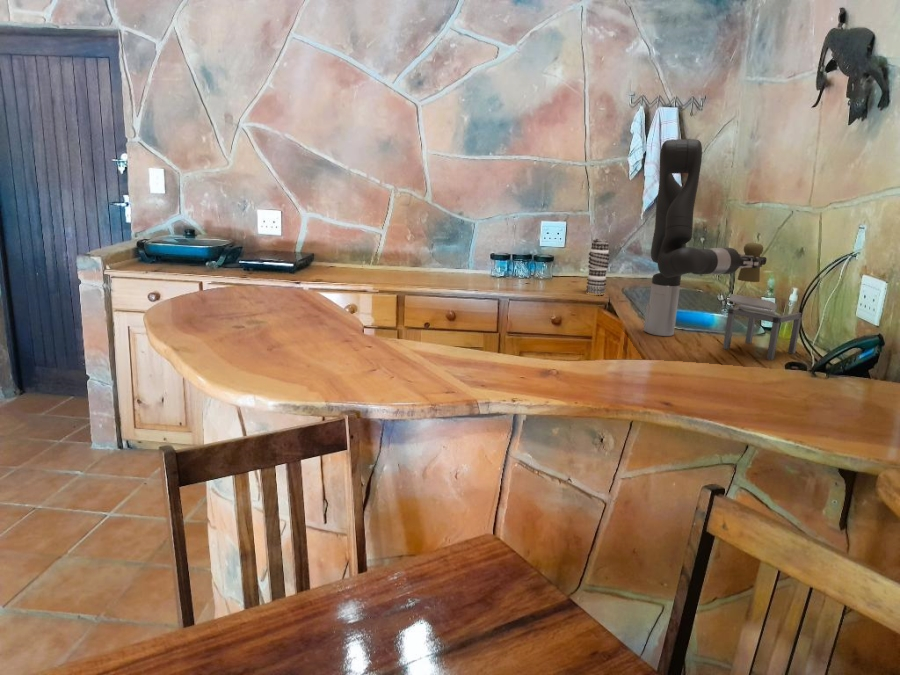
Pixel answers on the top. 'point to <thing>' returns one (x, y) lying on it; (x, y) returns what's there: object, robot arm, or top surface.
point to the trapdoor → (755, 305)
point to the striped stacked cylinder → (598, 266)
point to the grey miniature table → (774, 330)
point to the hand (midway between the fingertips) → (758, 259)
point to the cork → (751, 273)
